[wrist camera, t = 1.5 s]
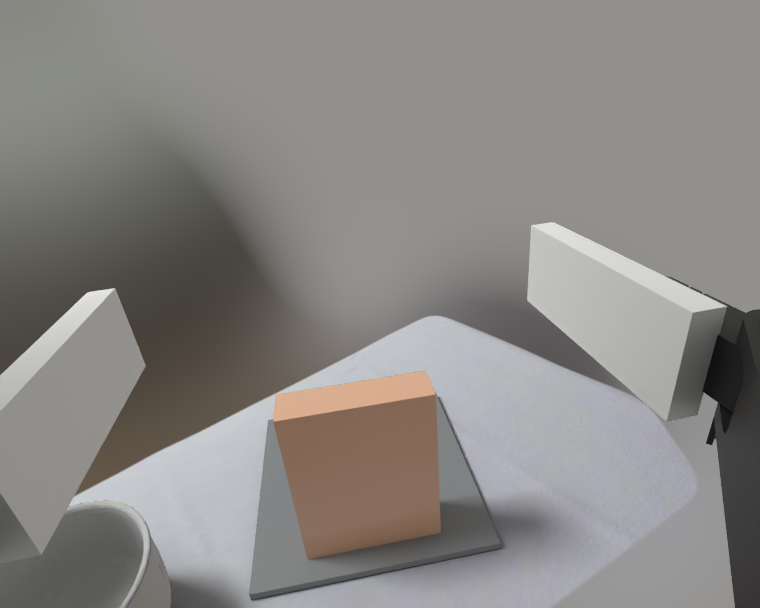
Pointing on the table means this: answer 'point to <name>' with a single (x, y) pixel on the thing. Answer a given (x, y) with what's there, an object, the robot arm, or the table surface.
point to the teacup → (91, 564)
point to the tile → (361, 462)
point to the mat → (295, 572)
